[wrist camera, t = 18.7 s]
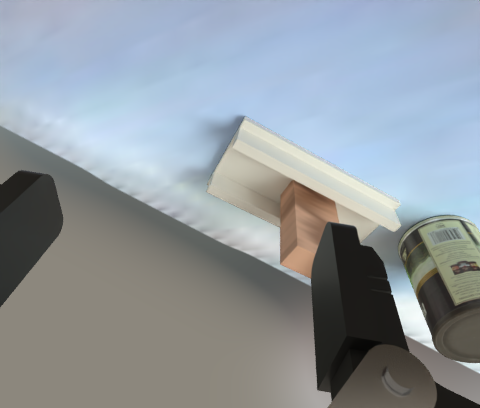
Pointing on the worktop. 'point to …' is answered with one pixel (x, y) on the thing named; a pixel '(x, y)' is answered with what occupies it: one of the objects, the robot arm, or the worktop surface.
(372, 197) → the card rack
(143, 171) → the worktop surface
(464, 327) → the coffee can
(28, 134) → the worktop surface
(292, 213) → the wooden card
